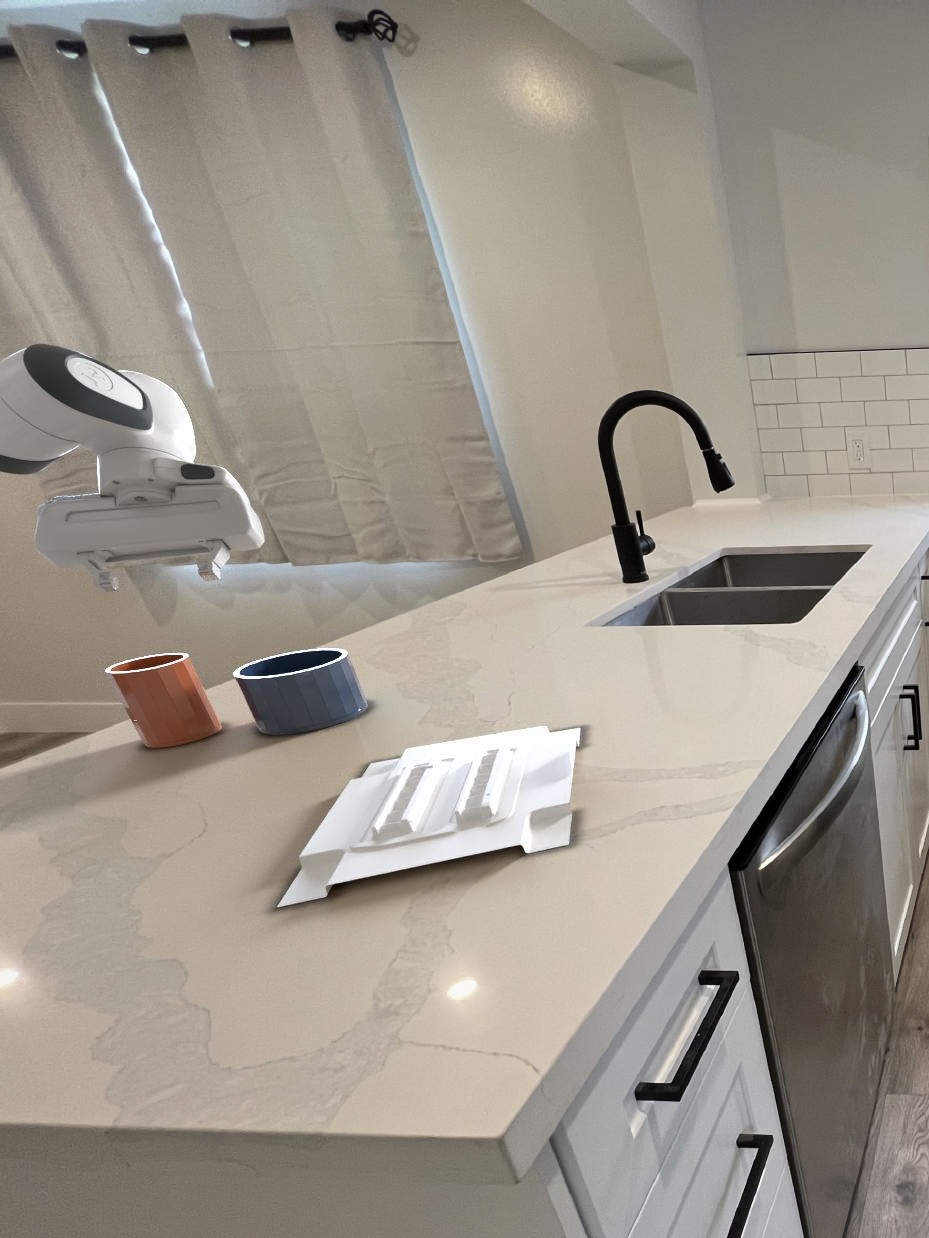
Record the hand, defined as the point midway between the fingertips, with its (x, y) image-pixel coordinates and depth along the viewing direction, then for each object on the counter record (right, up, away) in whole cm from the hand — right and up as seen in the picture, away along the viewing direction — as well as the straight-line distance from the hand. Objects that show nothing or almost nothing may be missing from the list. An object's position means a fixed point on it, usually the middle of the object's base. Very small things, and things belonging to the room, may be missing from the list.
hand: (159, 583), depth 96 cm
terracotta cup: (+6, -18, -3) cm, 20 cm away
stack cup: (+18, -16, +1) cm, 24 cm away
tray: (+50, -25, -20) cm, 59 cm away
